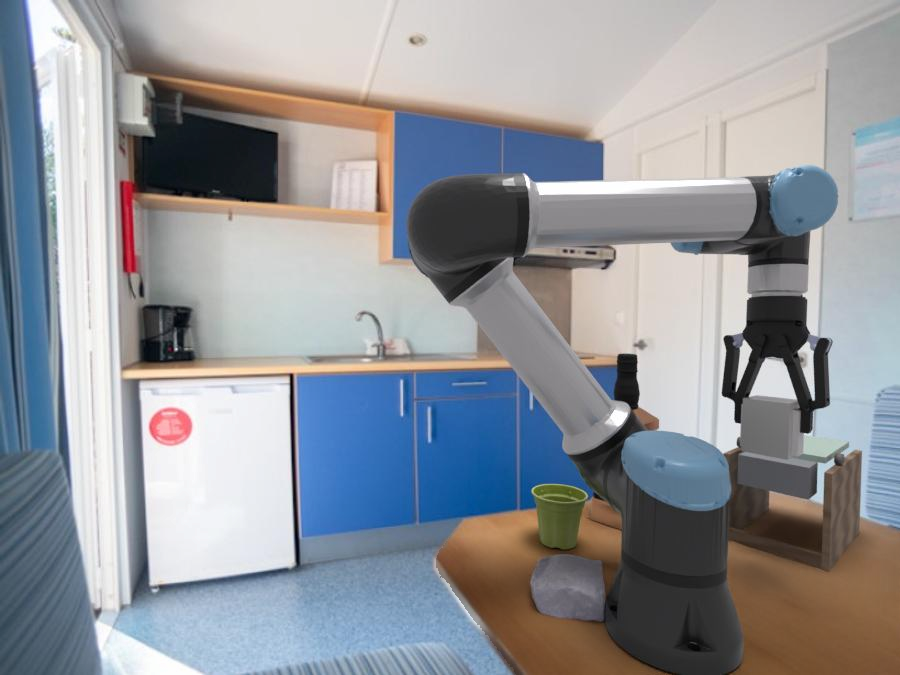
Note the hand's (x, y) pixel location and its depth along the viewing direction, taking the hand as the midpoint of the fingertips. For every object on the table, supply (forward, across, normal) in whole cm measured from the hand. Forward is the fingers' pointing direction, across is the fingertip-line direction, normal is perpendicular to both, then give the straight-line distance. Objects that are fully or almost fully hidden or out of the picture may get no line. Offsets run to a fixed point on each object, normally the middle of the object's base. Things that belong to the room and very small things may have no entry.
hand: (770, 449), depth 73 cm
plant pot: (+19, +27, +16) cm, 37 cm away
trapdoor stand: (+19, +2, -19) cm, 27 cm away
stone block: (+20, +16, +28) cm, 38 cm away
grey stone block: (0, 0, 0) cm, 0 cm away
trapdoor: (+8, +2, -18) cm, 20 cm away
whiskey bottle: (+19, +25, -2) cm, 31 cm away
